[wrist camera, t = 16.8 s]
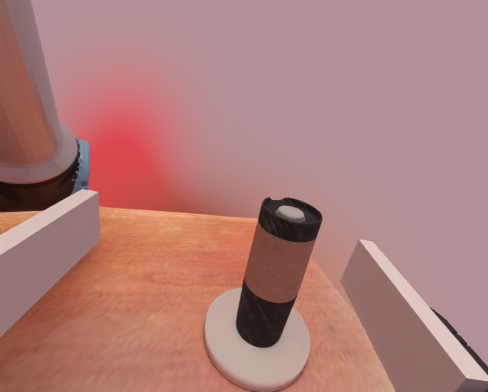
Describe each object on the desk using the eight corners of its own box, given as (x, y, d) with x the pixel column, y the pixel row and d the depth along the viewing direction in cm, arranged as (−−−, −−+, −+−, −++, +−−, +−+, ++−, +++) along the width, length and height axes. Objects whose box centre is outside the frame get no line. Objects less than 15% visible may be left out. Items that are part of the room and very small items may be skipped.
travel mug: (275, 360, 32) (320, 231, 25) (225, 334, 35) (252, 208, 27) (287, 318, 39) (326, 208, 32) (244, 298, 41) (271, 191, 34)
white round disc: (187, 312, 39) (188, 303, 38) (264, 285, 48) (266, 277, 47) (240, 420, 27) (243, 409, 27) (328, 357, 36) (332, 348, 36)
